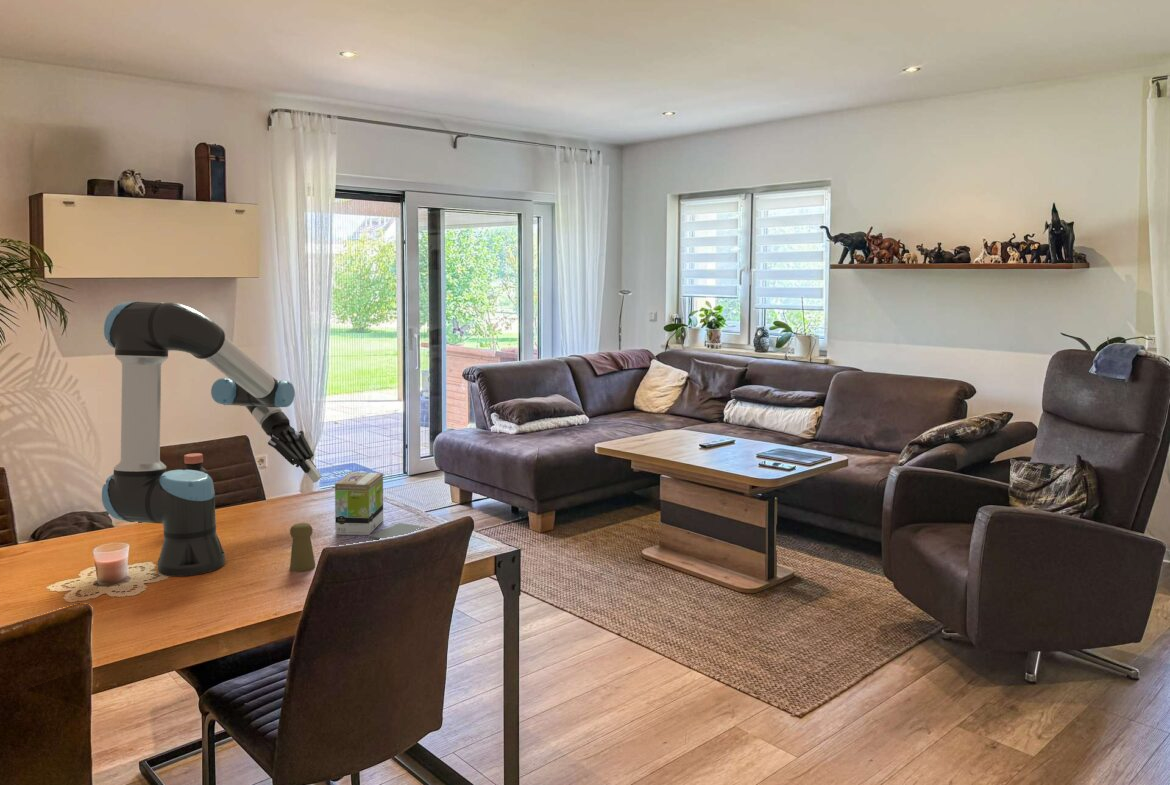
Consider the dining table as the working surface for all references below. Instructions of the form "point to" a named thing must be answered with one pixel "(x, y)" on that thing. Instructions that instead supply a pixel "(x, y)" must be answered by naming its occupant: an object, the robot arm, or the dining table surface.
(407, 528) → the mat
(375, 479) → the tea box
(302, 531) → the olive green pawn
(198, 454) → the bottle
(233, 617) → the dining table surface
